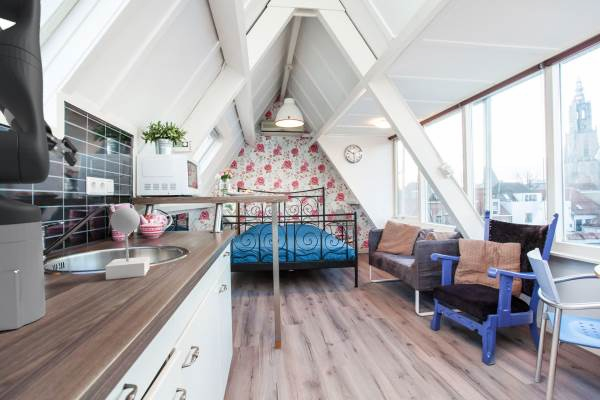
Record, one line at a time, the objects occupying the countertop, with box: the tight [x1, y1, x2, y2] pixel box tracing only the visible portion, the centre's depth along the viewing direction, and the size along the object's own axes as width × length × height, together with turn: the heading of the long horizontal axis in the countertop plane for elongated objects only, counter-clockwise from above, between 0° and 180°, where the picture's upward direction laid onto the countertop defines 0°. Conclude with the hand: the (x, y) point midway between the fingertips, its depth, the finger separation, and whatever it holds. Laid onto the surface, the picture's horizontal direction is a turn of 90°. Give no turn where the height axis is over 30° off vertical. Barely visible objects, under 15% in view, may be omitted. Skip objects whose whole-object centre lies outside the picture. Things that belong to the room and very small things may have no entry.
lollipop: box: [109, 206, 141, 262], centre depth 84 cm, size 7×7×15 cm
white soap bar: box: [105, 256, 150, 281], centre depth 84 cm, size 9×9×4 cm
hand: (56, 162), depth 79 cm, fingers open, 8 cm apart
